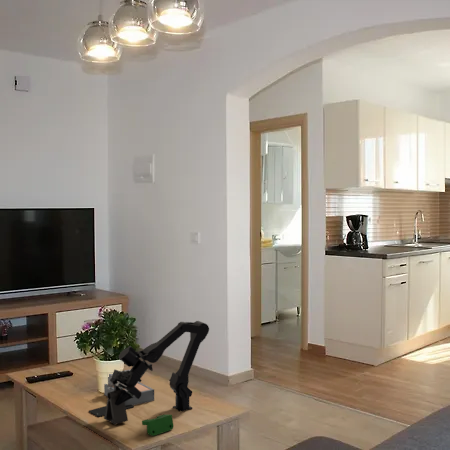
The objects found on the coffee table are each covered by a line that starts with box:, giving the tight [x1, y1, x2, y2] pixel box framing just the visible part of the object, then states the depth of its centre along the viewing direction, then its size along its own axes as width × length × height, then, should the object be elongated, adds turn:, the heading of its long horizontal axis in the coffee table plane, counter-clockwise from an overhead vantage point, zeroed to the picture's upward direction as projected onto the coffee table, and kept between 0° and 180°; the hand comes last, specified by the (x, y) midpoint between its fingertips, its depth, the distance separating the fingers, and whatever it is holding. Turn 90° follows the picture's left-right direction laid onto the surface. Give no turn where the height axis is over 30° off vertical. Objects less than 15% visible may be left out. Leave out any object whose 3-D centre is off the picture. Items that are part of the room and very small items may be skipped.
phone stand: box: [103, 389, 129, 425], centre depth 234 cm, size 9×6×12 cm, turn 42°
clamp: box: [141, 414, 174, 437], centre depth 225 cm, size 12×6×9 cm, turn 128°
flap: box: [107, 368, 150, 392], centre depth 265 cm, size 19×12×10 cm, turn 37°
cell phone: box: [88, 405, 135, 418], centre depth 249 cm, size 9×18×1 cm, turn 133°
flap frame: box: [103, 381, 155, 406], centre depth 265 cm, size 21×16×5 cm
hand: (112, 404), depth 233 cm, fingers closed on phone stand, 3 cm apart
